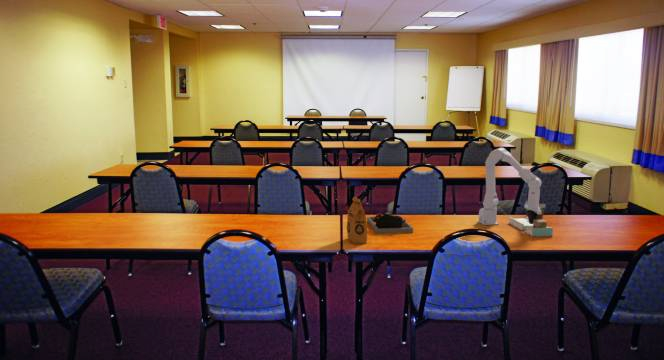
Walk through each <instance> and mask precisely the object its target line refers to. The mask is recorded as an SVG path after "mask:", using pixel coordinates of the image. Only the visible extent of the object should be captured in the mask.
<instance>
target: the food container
mask: <svg viewBox="0 0 664 360" xmlns="http://www.w3.org/2000/svg"><path fill="white" fill-rule="evenodd" d="M526 204H528V200H525V203H524V206H525V205H526ZM539 207H540V210H541V211H542V212H541V214H538V216H537V217H536V219H535V220H543V218H544V212H545V208H547V206H546V203H539ZM525 209H526V210H525V215H526V216H525V218H526V217H528V215H527V213H526V211H528V210H529V209H527V208H525Z"/></svg>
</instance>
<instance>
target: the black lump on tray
mask: <svg viewBox="0 0 664 360" xmlns="http://www.w3.org/2000/svg"><path fill="white" fill-rule="evenodd" d="M399 216H400V215H396V214H393V213H392V212H390V211H385V213H384V214H382V213H377V214H376V215H375V216H374V217H375V218H374V220H373V223H374V224H375V225H376V226H377V227H378V229H385V228H404V227H403V226H404V225H403V223H404V222H405V221H406V220H407V219H404V218H403V217H402V216H401V217H402V218H401V217H399ZM403 219H404V220H403ZM406 222H407V221H406Z"/></svg>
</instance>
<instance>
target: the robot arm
mask: <svg viewBox="0 0 664 360" xmlns="http://www.w3.org/2000/svg"><path fill="white" fill-rule="evenodd" d="M500 161H501V162H506V163H508V164H509V165H511V166H512V167H513V168H514V169H515V170H516V172H518V176H519V177H520V178H521V179H522V180H523V181H524V182H525V184H527V187H528V197H527V202H528V204H526V205H525V204H524V206H523V207H524V209H526V208H527V209H529V210H528V211H526V210H525V214H526V213H527V215H528V219H529V223H530V224H533V220H535V219H536V217H537V216H538V214H541V212H542V211H541V210H540V207H539V204H540V195H541V192H540V191H541V186H542V183H543V182H542V179H541V178H540V177H538V176H537V175H535V174H534V173H533V172H531V169H530V168H528V167H524V166H522V164H520V163H519V162H518V160H517V159H516V158H515V157H514V156H513V155H512V154H511V153H510V151H508V150H507V149H506V148H504V147H498V148H496V149H494V150H492V151H491V152H489V155H488V156H487V158H486V160H485V162H484V163H485V193H484V199H483V201H482V206H483V207H481V208H480V209H479V211H478V221H477V222H478V223H480V224H482V225H483V226H489V225H491V226H492V225H496V226H497V225H499V224H500V223H499V222H497V214H498V213H497V212H498V207H497V206H498V204H499V197H498V194H497V192H496V164H497V163H499V162H500Z"/></svg>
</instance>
